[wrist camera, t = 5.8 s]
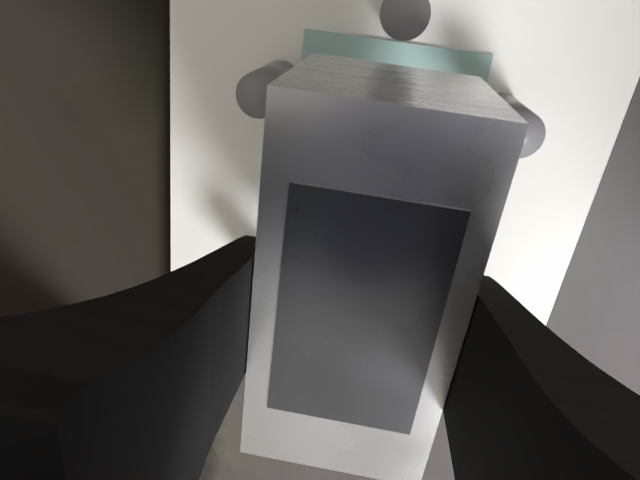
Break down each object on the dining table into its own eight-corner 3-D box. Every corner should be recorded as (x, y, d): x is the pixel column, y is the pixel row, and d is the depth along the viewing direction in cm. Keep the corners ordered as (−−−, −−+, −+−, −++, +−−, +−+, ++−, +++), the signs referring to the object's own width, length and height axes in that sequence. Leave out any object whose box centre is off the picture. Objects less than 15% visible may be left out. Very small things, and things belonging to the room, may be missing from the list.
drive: (479, 76, 12) (530, 124, 8) (412, 346, 16) (419, 489, 11) (313, 52, 12) (266, 85, 8) (283, 323, 16) (239, 453, 11)
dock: (655, -9, 15) (739, -13, 11) (515, 374, 21) (541, 452, 17) (182, -70, 16) (119, -93, 12) (180, 313, 22) (137, 375, 18)
